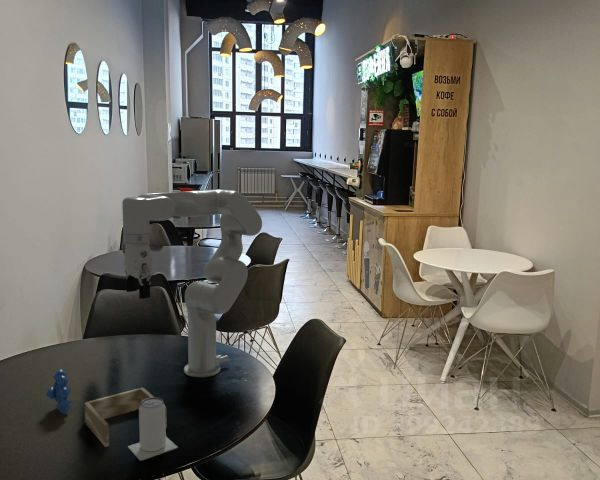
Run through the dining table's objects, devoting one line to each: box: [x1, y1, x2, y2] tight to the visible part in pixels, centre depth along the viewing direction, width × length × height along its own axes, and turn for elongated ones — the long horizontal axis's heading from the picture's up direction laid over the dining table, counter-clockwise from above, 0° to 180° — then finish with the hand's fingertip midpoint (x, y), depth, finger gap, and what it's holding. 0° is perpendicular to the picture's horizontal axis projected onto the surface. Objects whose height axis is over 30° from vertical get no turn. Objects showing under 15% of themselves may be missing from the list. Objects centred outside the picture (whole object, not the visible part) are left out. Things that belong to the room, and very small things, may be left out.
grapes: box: [45, 369, 72, 415], centre depth 158 cm, size 12×7×12 cm, turn 33°
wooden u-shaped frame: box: [83, 387, 168, 448], centre depth 151 cm, size 17×16×6 cm
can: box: [138, 396, 167, 452], centre depth 140 cm, size 6×6×12 cm
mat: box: [127, 436, 178, 462], centre depth 141 cm, size 10×8×1 cm
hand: (138, 294), depth 166 cm, fingers open, 9 cm apart
